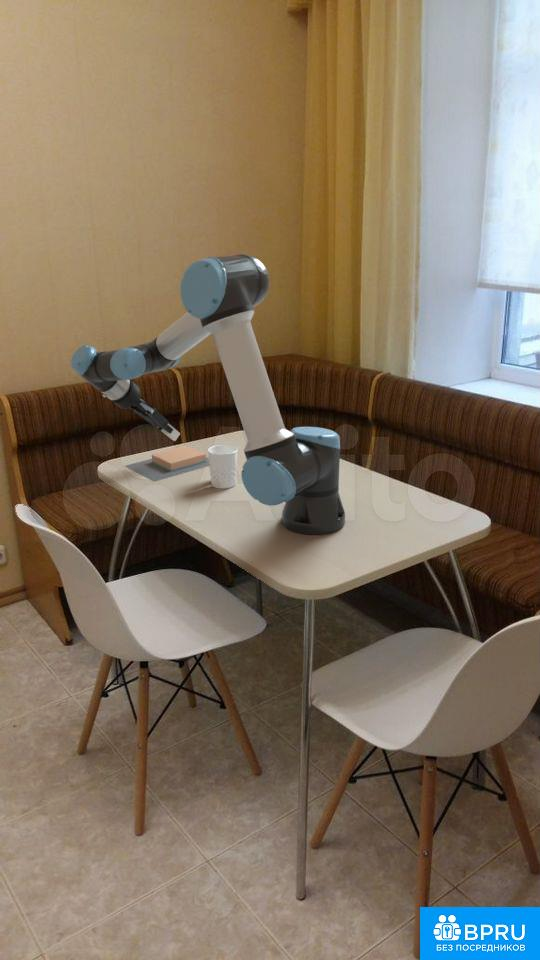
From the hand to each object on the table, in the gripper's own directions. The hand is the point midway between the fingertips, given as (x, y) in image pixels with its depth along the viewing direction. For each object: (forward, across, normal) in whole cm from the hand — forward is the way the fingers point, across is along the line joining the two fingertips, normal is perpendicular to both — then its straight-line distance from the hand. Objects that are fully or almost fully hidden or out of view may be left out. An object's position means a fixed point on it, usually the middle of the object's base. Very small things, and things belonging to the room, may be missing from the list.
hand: (176, 436), depth 216 cm
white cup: (+7, +21, -6) cm, 23 cm away
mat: (+5, 0, -7) cm, 9 cm away
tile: (+1, 0, -9) cm, 9 cm away
